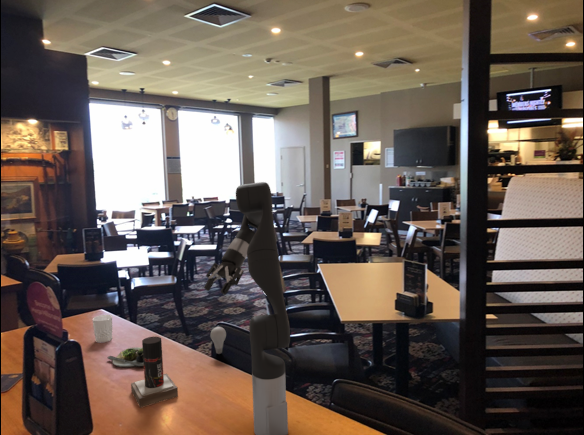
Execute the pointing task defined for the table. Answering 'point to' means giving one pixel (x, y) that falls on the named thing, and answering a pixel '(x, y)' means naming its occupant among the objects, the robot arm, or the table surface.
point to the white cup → (102, 328)
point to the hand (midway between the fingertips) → (214, 291)
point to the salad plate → (129, 358)
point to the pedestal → (154, 392)
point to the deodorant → (153, 362)
